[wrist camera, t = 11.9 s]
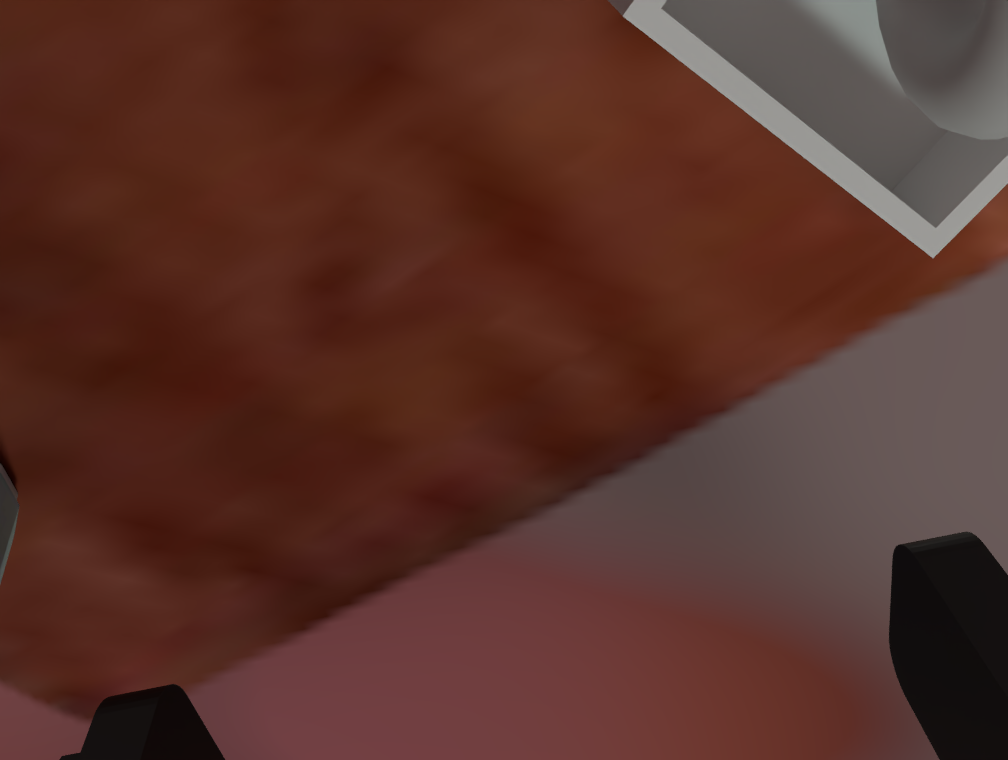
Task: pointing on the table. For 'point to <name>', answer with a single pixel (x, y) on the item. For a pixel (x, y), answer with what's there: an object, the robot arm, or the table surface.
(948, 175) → the walled tray
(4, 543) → the disposable coffee cup
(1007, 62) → the donut
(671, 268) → the table surface
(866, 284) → the table surface
